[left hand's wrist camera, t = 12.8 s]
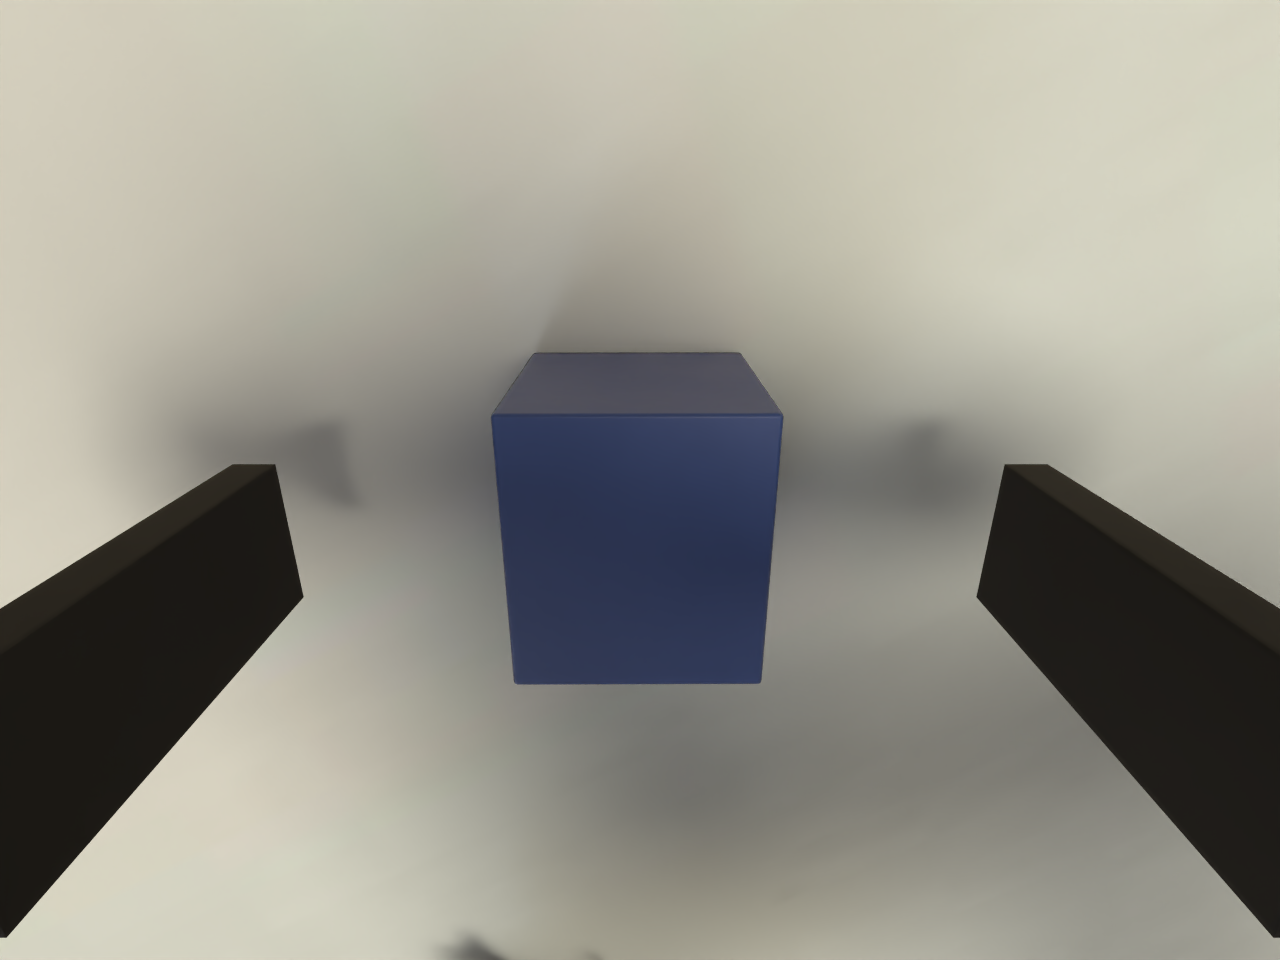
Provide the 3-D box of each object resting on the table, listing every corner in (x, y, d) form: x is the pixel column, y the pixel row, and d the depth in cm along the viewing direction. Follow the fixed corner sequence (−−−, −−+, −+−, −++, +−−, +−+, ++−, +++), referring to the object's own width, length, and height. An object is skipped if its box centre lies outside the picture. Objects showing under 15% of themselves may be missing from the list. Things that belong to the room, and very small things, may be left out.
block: (729, 561, 17) (761, 685, 12) (545, 561, 17) (513, 686, 12) (741, 352, 15) (784, 413, 10) (532, 352, 15) (489, 414, 10)
